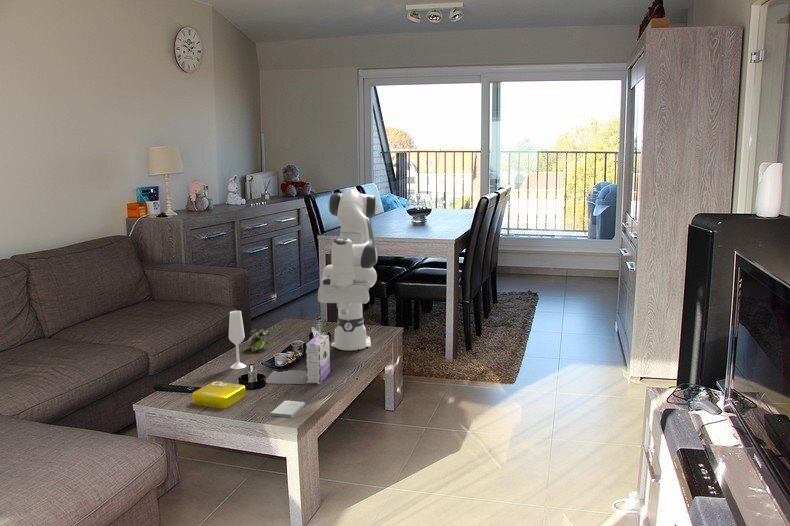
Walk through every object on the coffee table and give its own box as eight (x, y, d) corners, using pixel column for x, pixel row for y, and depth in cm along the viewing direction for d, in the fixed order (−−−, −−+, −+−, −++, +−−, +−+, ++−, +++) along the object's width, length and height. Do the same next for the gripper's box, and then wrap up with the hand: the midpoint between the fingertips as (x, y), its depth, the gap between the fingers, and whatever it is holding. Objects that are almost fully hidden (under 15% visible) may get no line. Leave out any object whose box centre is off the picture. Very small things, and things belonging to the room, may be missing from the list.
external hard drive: (270, 417, 245) (284, 404, 257) (291, 419, 243) (305, 405, 254) (269, 412, 244) (284, 399, 256) (291, 414, 242) (305, 401, 254)
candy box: (317, 372, 289) (315, 334, 287) (330, 373, 288) (329, 334, 285) (306, 383, 276) (304, 343, 273) (320, 384, 275) (319, 344, 272)
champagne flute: (243, 363, 303) (240, 309, 299) (248, 367, 297) (245, 312, 293) (228, 365, 300) (225, 311, 295) (233, 370, 294) (230, 314, 290)
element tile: (190, 404, 257) (189, 392, 256) (214, 391, 270) (214, 379, 269) (224, 410, 251) (224, 397, 250) (248, 395, 265) (247, 383, 264)
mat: (274, 370, 293) (274, 369, 292) (313, 371, 290) (313, 371, 290) (262, 383, 277) (262, 382, 277) (304, 384, 275) (304, 384, 275)
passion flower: (254, 358, 327) (256, 334, 332) (275, 356, 324) (277, 331, 329) (242, 351, 317) (244, 326, 323) (263, 348, 314) (265, 323, 319)
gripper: (370, 278, 276) (371, 312, 278) (319, 277, 278) (320, 311, 280) (367, 281, 270) (368, 316, 272) (316, 280, 272) (317, 315, 274)
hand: (343, 313), depth 276 cm, fingers closed
